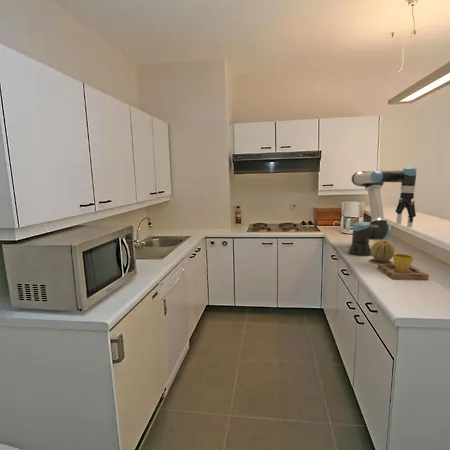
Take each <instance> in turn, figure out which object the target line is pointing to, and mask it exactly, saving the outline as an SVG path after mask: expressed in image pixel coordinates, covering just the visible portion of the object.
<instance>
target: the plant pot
mask: <svg viewBox="0 0 450 450" xmlns="http://www.w3.org/2000/svg"><path fill="white" fill-rule="evenodd" d="M392 260H393V262H394V263H393V264H395V270H396V271H397V272H400V273H407V272H408V270H409V268H410V265H412V263H413V262H414V256H412V255H410V254H406V253H394V255H393V257H392Z"/></svg>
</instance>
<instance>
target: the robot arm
mask: <svg viewBox="0 0 450 450" xmlns="http://www.w3.org/2000/svg"><path fill="white" fill-rule="evenodd" d="M416 179H417V168H416V167H403V169H402V170H372V171H364V170H363V171H357V172H355V173H353V175H352V176H351V182H352V184H354V185H355V186H356V187H364V188H365V189H364V190H365V191H366V192H367V195H368V202H369V211H370V218H371V221H370V222H368V221H359V222H358V221H357V222H355V223H353V227H352V240H351V244H350V246H349V247H348V253H349V254H351V255H354V256H366V257H367V256H370V255H372V254H371V248H370V240H374V241H376V240H377V241H380V240H385V241H386V240H388V239H389V238H390V237H391V235H392V225H391V224H390V223H388V221H387V219H385V215H384V209H383V201H382V193H381V189H383V188H382V187H383V185H384V183H400V184H401V185H400V186H401V187H400V195H399V199H398V203H397V207H396V209H395V213H396V222H395V223H396V225H397V224H398V225H401V224H402V218H403V217H402V216H403V211H404V210H405V208H406V211H407V214H408V216H407V226H406V227H407V228H413V221H414V218H415V217H416V216H417V215H416V214H417V213H416V207H415V200H414V199H415V198H414V197H415V189H416V181H417V180H416Z"/></svg>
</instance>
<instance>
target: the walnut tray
mask: <svg viewBox="0 0 450 450" xmlns="http://www.w3.org/2000/svg"><path fill="white" fill-rule="evenodd" d="M377 269H378V271H381V272H382V273H383V274H385V275H386V276H388V277H389V278H390V279H392V280H420V281H422V280H425V281H428V280H429V277H430V276H429V274H428V273H426V272H425V271H423V270H421V269H420V268H418V267H416V266H414V265H412V264H411V265H410V268H409V270H408V272H407V273H400V272H397V271H396V270H395V264H394V263H393V264H392V263H391V264H390V263H378V264H377Z"/></svg>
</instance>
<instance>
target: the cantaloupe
mask: <svg viewBox="0 0 450 450" xmlns="http://www.w3.org/2000/svg"><path fill="white" fill-rule="evenodd" d="M370 251H371V254H370V255H371V256H372V258H373V259H374V260H376V262H377V261H378V262H383V263H384V262H385V263H386V262H388V261H391V260H393V255H394V254H395V247H394V246H393V244H392V243H391V242H390V241H388V240H386V239H385V240H377V241H375V242H374V243H373V244H372V245H371V248H370Z"/></svg>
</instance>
